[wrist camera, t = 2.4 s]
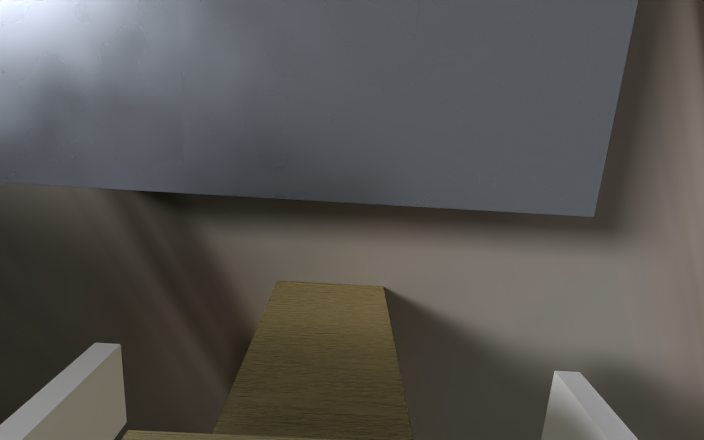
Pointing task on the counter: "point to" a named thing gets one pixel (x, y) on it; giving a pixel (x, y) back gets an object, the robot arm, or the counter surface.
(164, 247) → the counter surface
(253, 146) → the gray post stand
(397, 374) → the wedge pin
